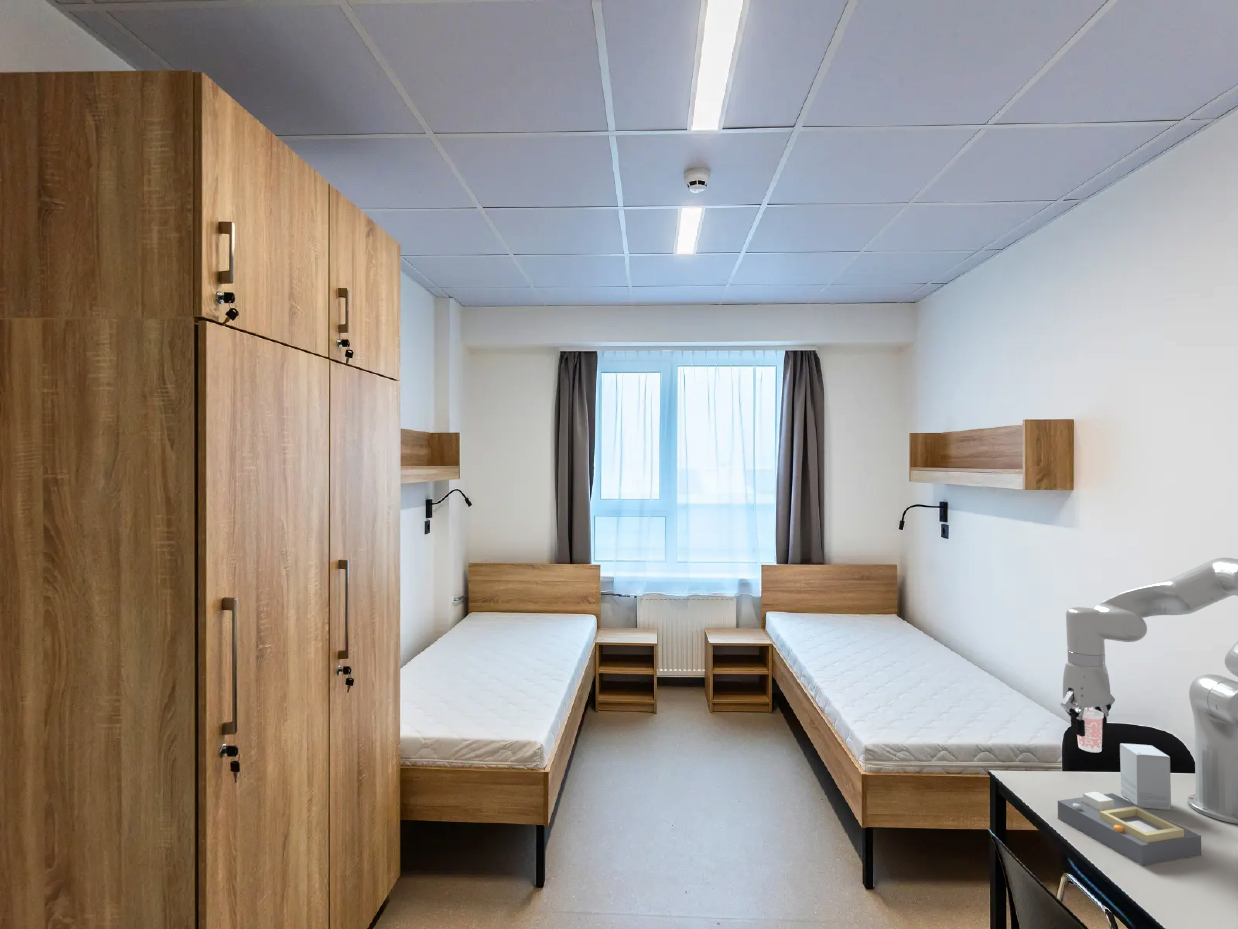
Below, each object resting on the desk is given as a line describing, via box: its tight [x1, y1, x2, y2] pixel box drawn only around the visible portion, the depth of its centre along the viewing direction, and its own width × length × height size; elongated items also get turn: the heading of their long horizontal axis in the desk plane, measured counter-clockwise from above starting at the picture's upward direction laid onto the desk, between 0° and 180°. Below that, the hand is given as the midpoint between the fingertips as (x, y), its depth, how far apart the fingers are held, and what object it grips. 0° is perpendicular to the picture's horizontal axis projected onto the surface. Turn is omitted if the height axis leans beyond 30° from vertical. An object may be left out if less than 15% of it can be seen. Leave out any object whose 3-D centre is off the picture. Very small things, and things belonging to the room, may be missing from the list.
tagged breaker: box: [1126, 821, 1157, 832], centre depth 138 cm, size 4×4×4 cm
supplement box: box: [1119, 742, 1172, 811], centre depth 158 cm, size 7×7×13 cm
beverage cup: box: [1075, 707, 1104, 753], centre depth 159 cm, size 6×6×14 cm
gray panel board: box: [1057, 792, 1203, 866], centre depth 143 cm, size 16×19×6 cm
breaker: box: [1082, 791, 1114, 812], centre depth 148 cm, size 4×4×4 cm
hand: (1089, 732), depth 159 cm, fingers closed on beverage cup, 6 cm apart
